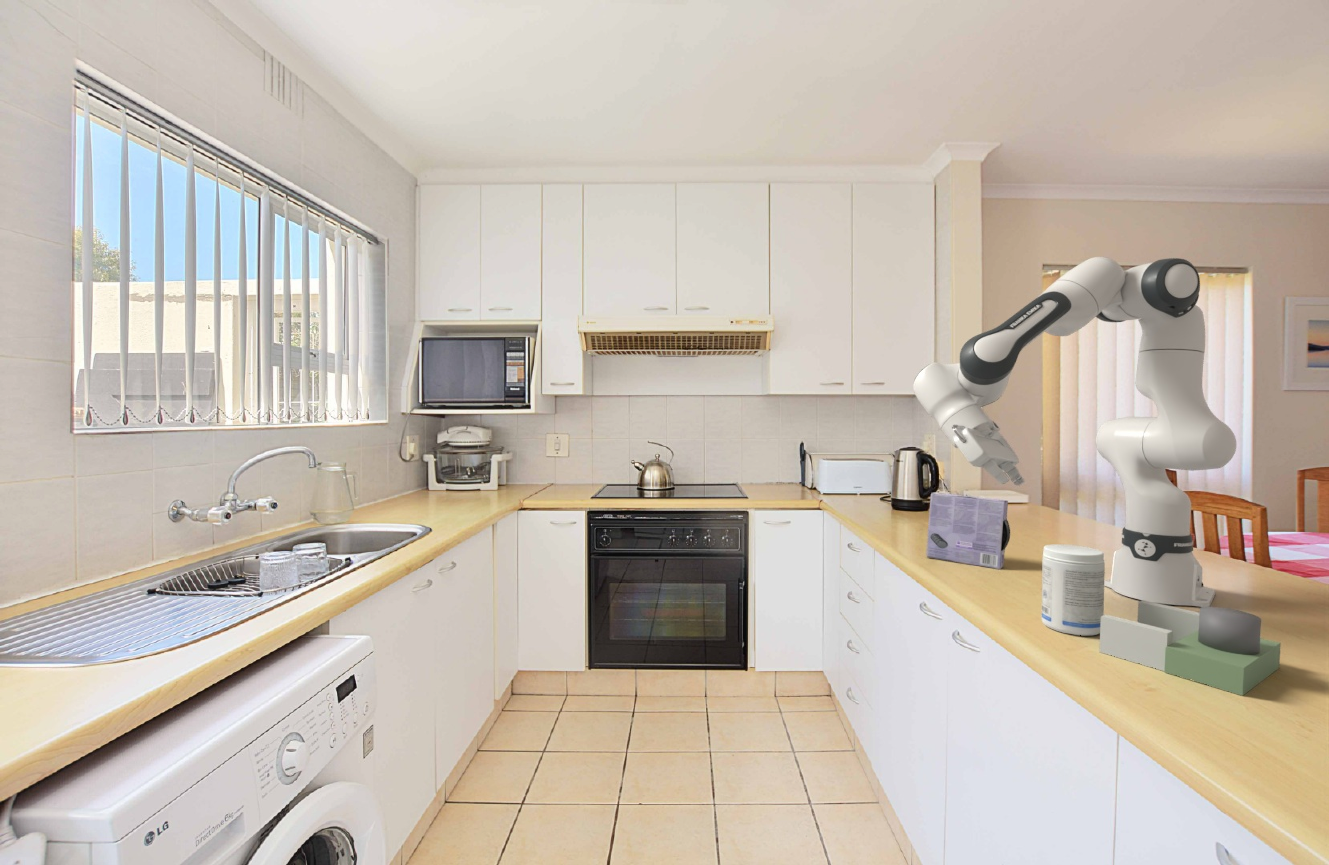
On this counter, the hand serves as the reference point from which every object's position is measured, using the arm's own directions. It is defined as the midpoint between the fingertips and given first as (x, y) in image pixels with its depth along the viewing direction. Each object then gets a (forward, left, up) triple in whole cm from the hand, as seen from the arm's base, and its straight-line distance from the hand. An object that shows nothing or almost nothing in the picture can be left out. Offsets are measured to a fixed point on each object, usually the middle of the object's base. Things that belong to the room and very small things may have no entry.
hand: (1013, 483), depth 122 cm
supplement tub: (-1, +11, -26) cm, 28 cm away
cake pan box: (-31, -27, -26) cm, 49 cm away
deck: (-1, +28, -26) cm, 38 cm away
